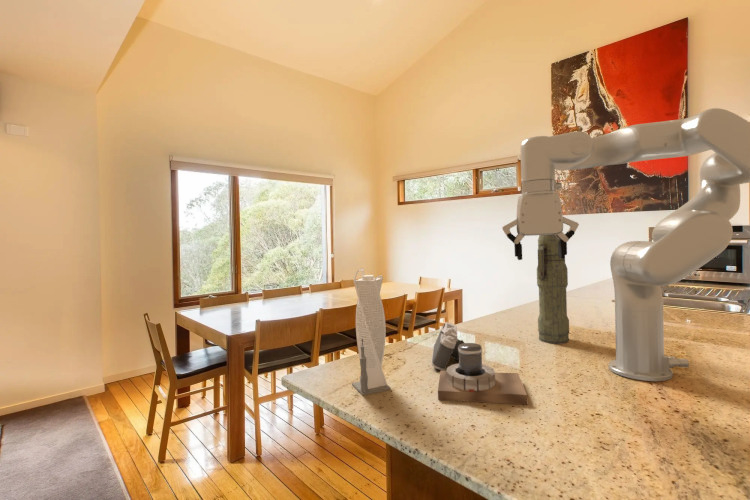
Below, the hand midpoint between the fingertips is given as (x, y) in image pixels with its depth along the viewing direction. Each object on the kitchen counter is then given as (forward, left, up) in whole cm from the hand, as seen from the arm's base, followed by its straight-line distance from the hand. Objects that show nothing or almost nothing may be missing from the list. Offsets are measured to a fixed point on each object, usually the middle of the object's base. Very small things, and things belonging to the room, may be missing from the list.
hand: (540, 258), depth 92 cm
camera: (+23, -6, -29) cm, 37 cm away
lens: (+18, +13, -26) cm, 34 cm away
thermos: (-9, -29, -29) cm, 42 cm away
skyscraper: (+41, +13, -29) cm, 52 cm away
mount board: (+16, +13, -28) cm, 35 cm away
